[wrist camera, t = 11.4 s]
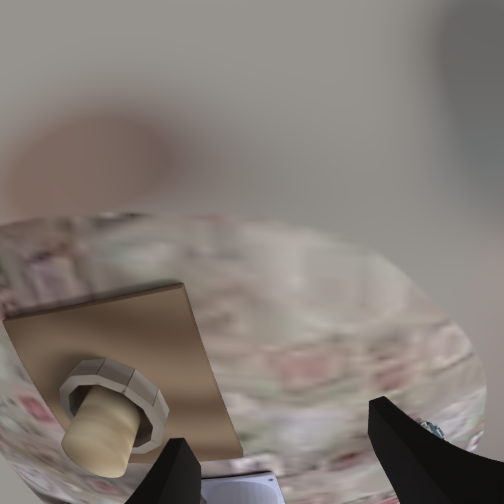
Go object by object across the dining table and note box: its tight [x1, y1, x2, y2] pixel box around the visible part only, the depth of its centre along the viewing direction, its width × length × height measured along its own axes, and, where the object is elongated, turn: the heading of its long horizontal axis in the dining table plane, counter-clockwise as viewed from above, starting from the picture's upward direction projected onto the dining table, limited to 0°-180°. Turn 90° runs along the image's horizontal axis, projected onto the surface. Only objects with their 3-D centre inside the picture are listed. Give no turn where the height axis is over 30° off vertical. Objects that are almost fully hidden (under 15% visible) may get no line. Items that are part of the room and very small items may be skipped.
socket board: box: [2, 283, 243, 463], centre depth 19 cm, size 16×16×3 cm
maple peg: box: [61, 384, 144, 478], centre depth 17 cm, size 4×4×6 cm
